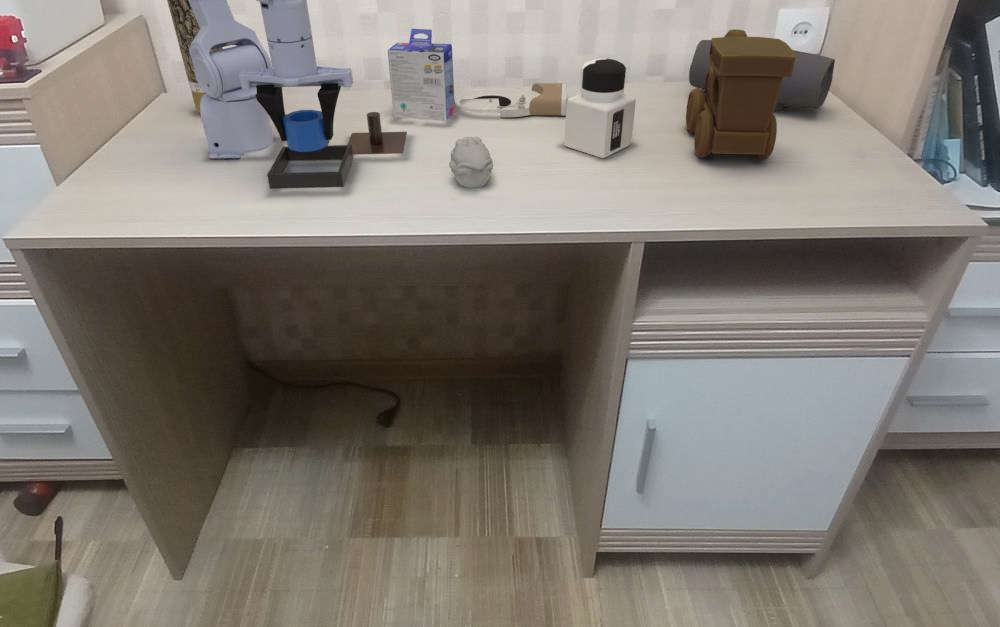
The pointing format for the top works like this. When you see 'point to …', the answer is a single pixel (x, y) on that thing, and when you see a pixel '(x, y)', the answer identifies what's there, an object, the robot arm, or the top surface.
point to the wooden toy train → (739, 95)
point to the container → (600, 110)
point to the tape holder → (377, 139)
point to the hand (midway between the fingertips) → (307, 138)
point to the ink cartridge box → (422, 78)
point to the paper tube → (187, 42)
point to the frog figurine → (471, 162)
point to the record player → (521, 100)
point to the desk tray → (311, 178)
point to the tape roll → (305, 130)
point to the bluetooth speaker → (795, 91)
